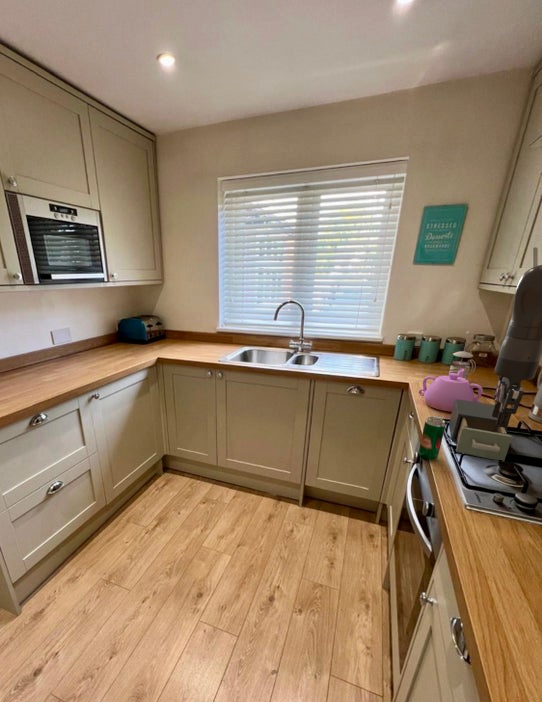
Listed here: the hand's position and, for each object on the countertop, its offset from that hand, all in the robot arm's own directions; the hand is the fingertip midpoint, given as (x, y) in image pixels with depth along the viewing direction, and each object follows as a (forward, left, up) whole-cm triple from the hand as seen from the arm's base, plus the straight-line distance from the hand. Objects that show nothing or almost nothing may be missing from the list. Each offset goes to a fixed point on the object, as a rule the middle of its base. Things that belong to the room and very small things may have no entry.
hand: (498, 421), depth 83 cm
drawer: (0, -13, -15) cm, 20 cm away
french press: (0, -90, -16) cm, 91 cm away
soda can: (+13, -3, -16) cm, 21 cm away
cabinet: (0, -25, -16) cm, 29 cm away
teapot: (+6, -53, -16) cm, 56 cm away
